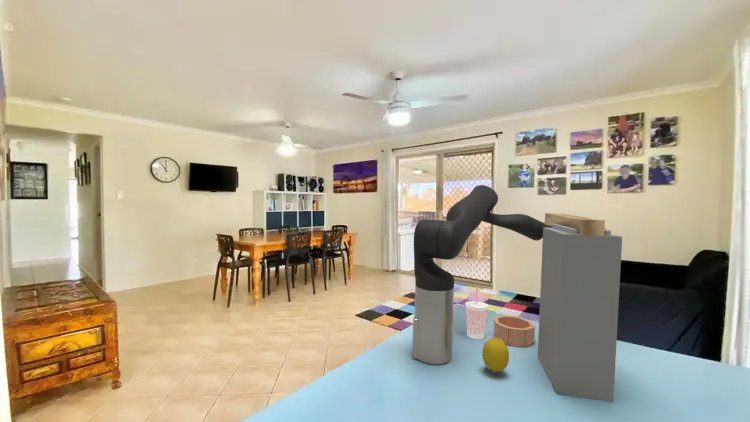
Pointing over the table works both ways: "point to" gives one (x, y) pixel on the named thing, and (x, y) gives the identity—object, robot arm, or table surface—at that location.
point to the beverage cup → (476, 318)
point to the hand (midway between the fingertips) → (583, 226)
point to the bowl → (514, 330)
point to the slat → (577, 223)
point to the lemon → (495, 354)
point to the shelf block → (579, 311)
